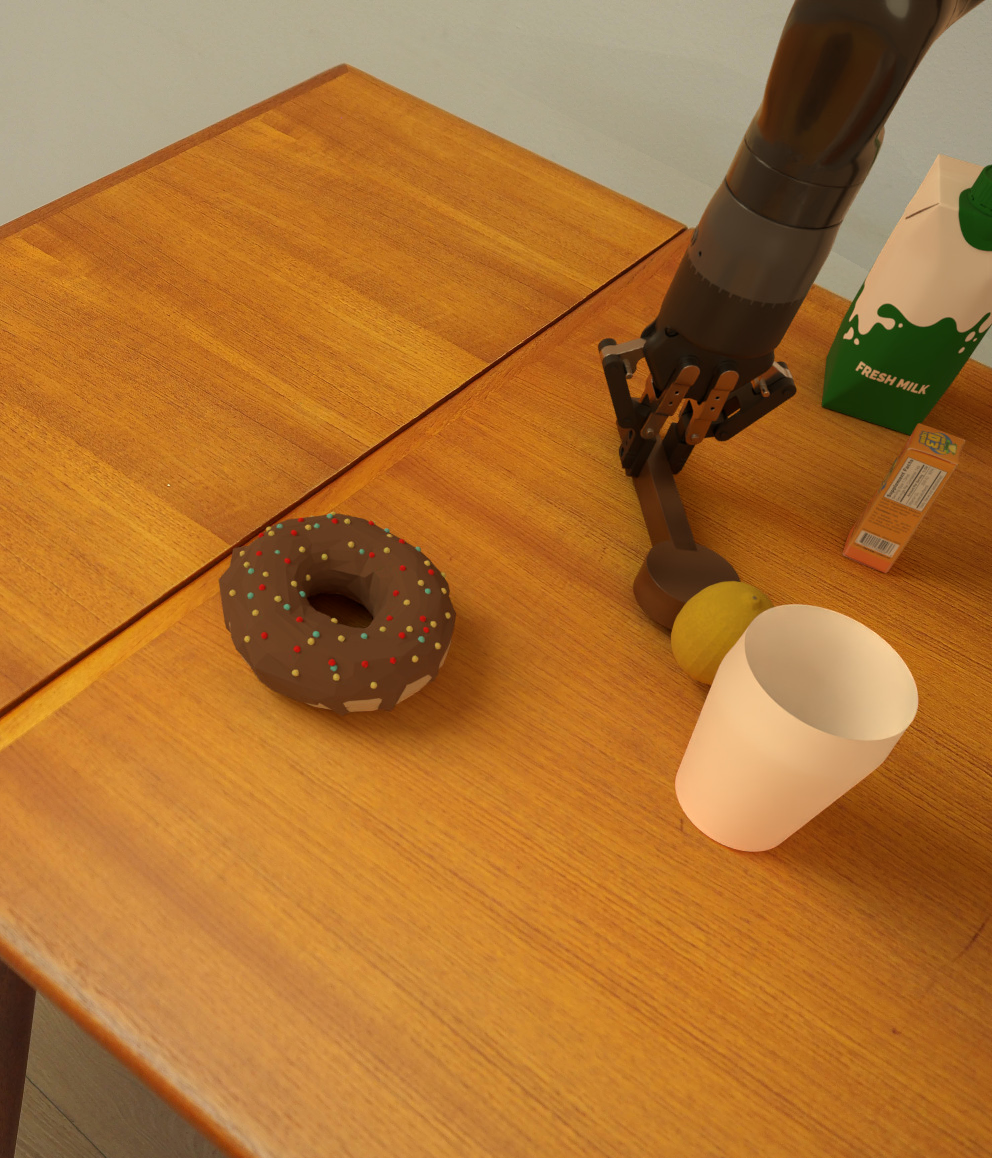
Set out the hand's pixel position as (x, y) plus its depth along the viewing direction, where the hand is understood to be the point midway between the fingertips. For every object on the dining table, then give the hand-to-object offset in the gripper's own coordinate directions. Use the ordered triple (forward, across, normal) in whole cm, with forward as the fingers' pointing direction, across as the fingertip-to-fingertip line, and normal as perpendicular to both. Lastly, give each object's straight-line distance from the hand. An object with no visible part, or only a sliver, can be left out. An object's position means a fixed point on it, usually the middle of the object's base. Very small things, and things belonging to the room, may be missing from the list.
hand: (645, 470), depth 92 cm
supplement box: (+1, +15, -5) cm, 16 cm away
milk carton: (+1, +21, +14) cm, 25 cm away
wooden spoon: (0, 0, -5) cm, 5 cm away
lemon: (+1, 0, -17) cm, 17 cm away
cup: (+1, 0, -27) cm, 27 cm away
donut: (+1, -23, -18) cm, 29 cm away
